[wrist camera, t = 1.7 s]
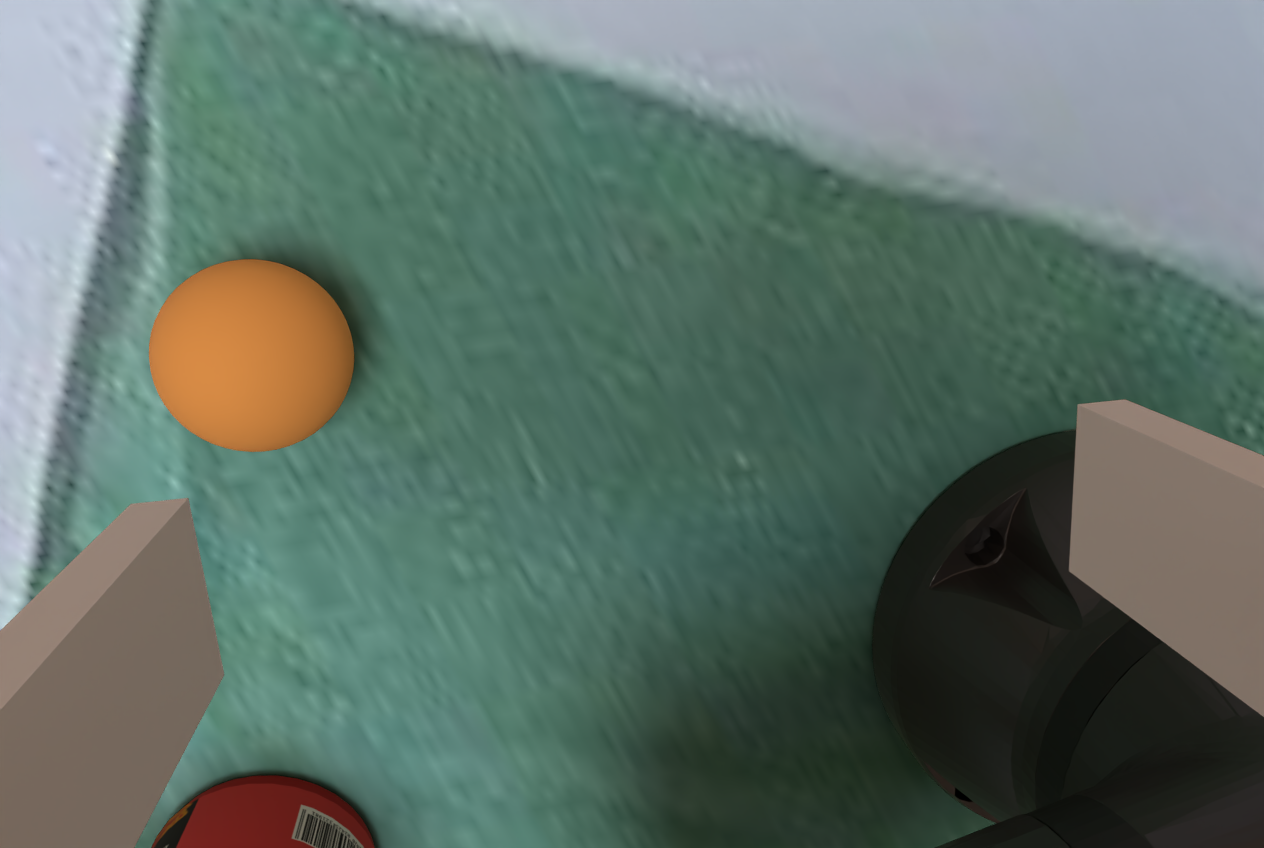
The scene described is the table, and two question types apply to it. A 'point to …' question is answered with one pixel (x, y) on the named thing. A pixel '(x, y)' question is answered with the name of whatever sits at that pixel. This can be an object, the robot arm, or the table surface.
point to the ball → (251, 355)
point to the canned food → (265, 817)
